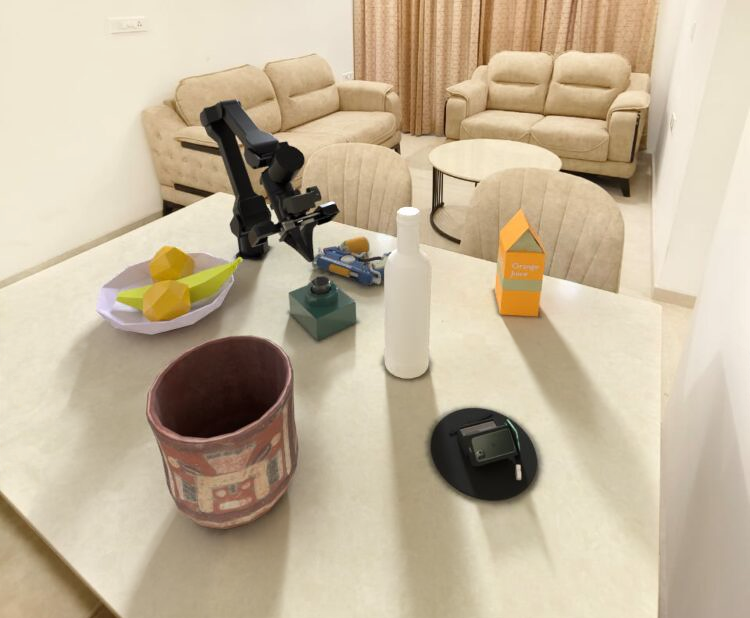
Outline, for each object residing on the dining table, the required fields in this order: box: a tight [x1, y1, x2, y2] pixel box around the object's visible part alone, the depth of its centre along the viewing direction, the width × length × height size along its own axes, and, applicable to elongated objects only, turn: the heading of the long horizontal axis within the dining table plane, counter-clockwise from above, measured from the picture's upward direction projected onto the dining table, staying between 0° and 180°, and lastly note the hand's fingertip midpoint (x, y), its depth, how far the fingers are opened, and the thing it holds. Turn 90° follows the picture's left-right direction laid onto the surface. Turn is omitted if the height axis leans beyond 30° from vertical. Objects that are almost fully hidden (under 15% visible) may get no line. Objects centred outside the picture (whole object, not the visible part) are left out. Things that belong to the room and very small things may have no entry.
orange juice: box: [494, 208, 547, 317], centre depth 102 cm, size 8×9×20 cm
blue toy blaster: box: [311, 236, 393, 286], centre depth 119 cm, size 21×4×15 cm
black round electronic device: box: [430, 407, 538, 502], centre depth 71 cm, size 15×15×6 cm
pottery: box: [145, 334, 299, 530], centre depth 65 cm, size 18×18×18 cm
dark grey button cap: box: [310, 275, 331, 295], centre depth 99 cm, size 4×4×2 cm
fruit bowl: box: [95, 245, 244, 336], centre depth 103 cm, size 28×27×11 cm
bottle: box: [383, 206, 433, 379], centre depth 84 cm, size 8×8×30 cm
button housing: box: [288, 280, 357, 342], centre depth 100 cm, size 11×9×7 cm
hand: (311, 261), depth 99 cm, fingers closed
